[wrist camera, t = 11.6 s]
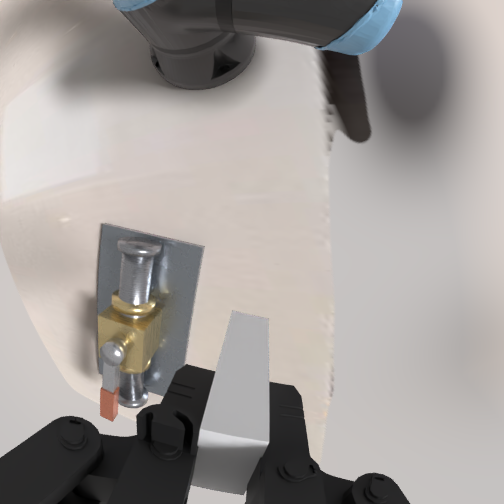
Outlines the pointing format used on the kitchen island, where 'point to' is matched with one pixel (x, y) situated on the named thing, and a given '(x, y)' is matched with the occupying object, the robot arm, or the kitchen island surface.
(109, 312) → the valve body
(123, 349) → the lever
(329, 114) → the kitchen island surface
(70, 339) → the kitchen island surface
